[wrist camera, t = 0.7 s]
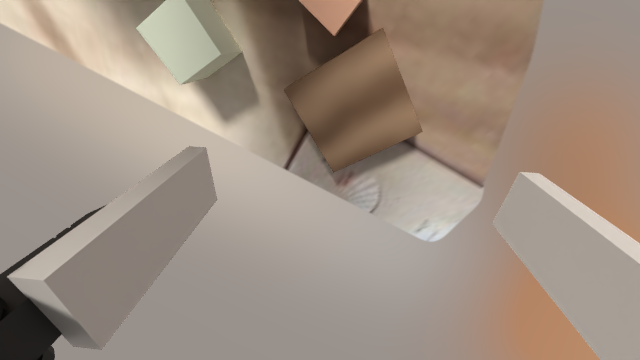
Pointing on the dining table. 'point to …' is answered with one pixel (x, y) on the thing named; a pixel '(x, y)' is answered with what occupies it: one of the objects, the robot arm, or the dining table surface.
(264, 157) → the dining table surface
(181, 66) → the pale green cube
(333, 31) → the terracotta cube
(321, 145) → the walnut block
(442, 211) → the dining table surface
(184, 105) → the dining table surface
